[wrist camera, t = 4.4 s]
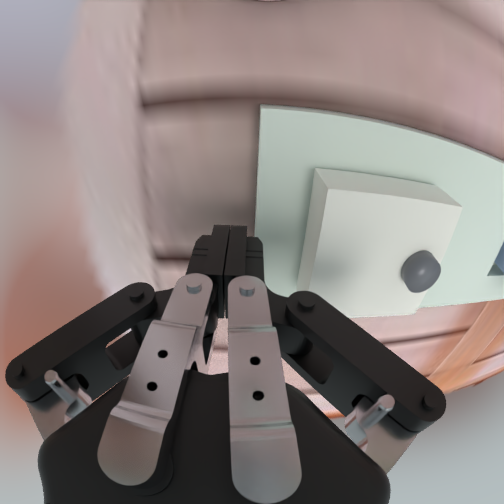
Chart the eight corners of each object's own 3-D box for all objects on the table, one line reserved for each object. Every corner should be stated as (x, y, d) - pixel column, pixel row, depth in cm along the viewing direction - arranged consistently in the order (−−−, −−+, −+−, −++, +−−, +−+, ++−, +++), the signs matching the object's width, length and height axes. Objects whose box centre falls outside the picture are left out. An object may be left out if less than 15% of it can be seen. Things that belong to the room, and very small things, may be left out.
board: (260, 104, 13) (261, 108, 10) (547, 184, 13) (562, 195, 11) (251, 284, 19) (251, 311, 17) (506, 281, 20) (517, 296, 18)
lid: (314, 167, 12) (333, 197, 9) (436, 185, 12) (472, 215, 9) (296, 286, 16) (303, 330, 13) (400, 286, 16) (419, 324, 13)
